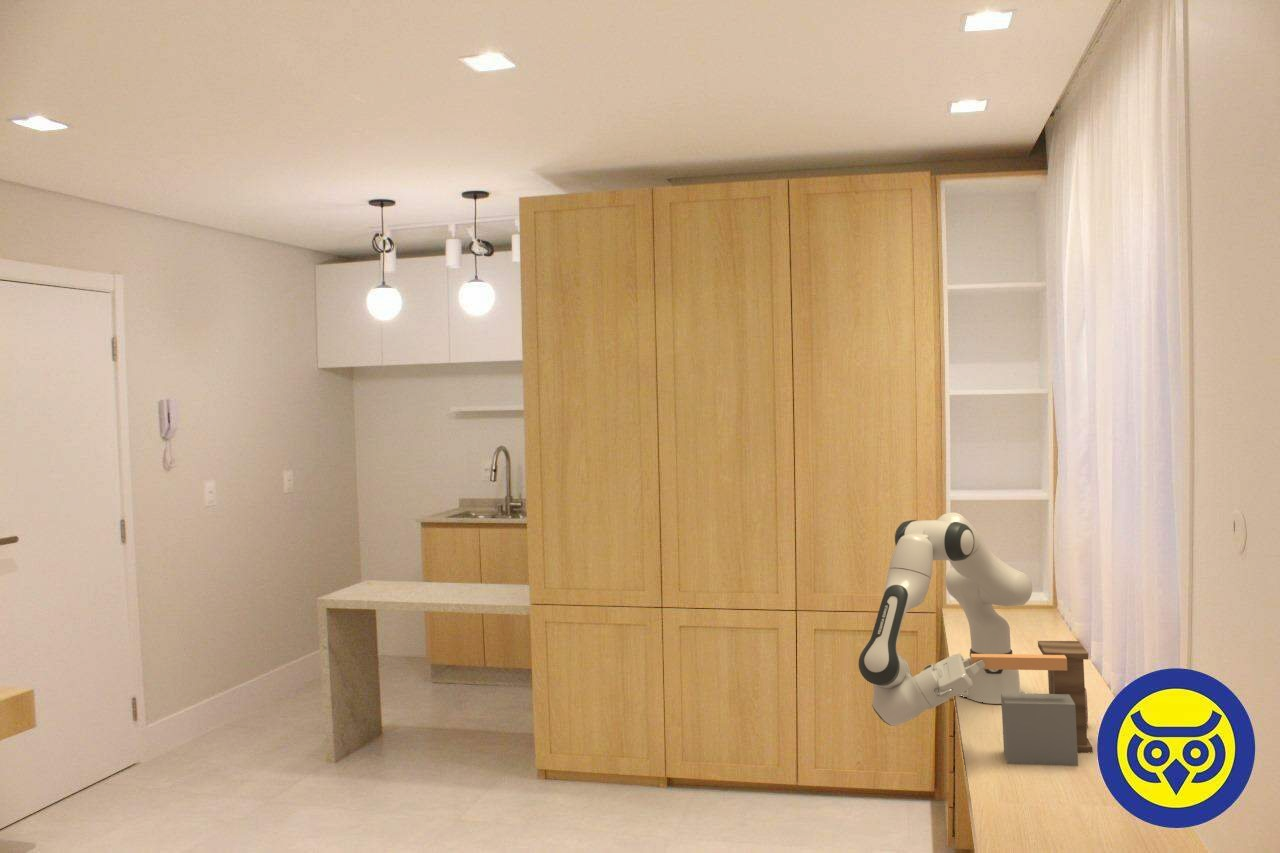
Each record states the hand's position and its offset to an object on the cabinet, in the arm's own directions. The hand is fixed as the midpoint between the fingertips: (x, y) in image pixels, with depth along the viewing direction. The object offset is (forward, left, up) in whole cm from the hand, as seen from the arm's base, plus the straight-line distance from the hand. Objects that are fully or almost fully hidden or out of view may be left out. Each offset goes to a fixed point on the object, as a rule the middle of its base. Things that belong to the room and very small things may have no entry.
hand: (983, 659), depth 242 cm
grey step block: (0, +12, -25) cm, 28 cm away
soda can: (-24, +24, -25) cm, 42 cm away
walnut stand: (-11, +20, -25) cm, 34 cm away
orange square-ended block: (0, +8, -2) cm, 8 cm away
